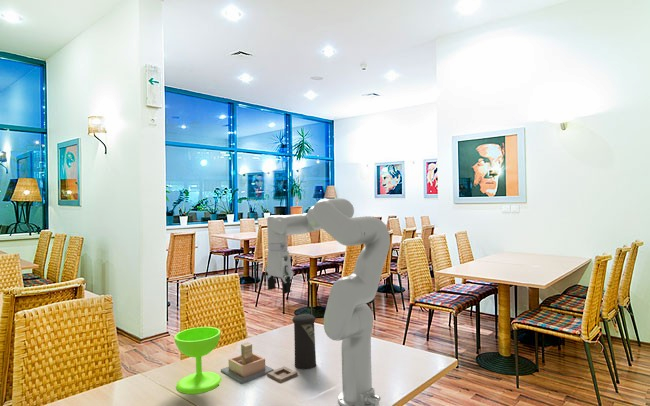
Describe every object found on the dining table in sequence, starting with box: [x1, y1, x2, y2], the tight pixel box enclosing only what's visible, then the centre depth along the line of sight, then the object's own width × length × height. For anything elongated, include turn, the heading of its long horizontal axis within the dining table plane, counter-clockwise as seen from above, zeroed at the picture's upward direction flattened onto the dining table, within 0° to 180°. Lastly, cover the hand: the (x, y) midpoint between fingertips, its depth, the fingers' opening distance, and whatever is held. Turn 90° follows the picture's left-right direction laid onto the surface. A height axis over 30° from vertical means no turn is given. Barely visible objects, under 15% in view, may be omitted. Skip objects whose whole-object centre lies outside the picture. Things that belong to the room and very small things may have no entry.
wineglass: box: [173, 326, 222, 395], centre depth 146 cm, size 16×16×18 cm
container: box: [292, 313, 317, 370], centre depth 158 cm, size 9×9×20 cm
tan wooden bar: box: [240, 341, 253, 365], centre depth 154 cm, size 3×3×9 cm
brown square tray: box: [266, 365, 298, 383], centre depth 149 cm, size 8×8×2 cm
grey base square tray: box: [220, 352, 275, 384], centre depth 154 cm, size 15×14×5 cm
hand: (279, 291), depth 156 cm, fingers open, 9 cm apart
